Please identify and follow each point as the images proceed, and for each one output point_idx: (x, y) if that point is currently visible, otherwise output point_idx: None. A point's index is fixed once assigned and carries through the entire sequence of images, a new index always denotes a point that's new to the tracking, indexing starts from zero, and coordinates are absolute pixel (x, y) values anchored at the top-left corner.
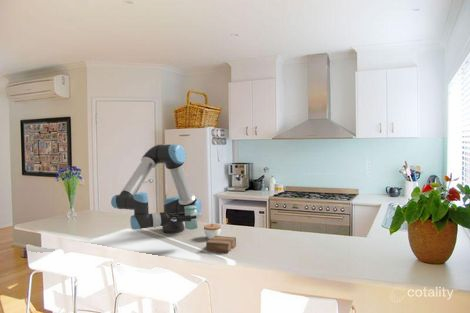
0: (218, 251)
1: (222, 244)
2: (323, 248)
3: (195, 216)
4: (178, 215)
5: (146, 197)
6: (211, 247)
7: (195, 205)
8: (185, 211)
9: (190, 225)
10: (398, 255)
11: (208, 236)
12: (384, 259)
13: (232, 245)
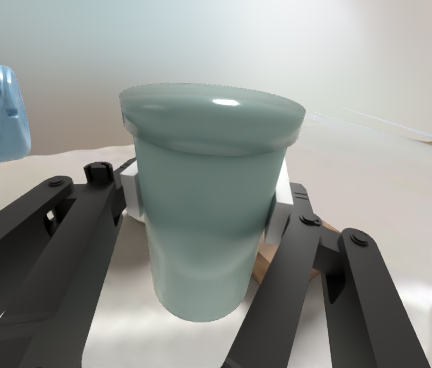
0: (314, 276)
1: None
2: (349, 152)
3: (305, 193)
4: (80, 290)
5: None
6: None
7: (12, 98)
8: (213, 182)
9: (248, 279)
10: (394, 137)
11: None
12: (411, 147)
13: None
